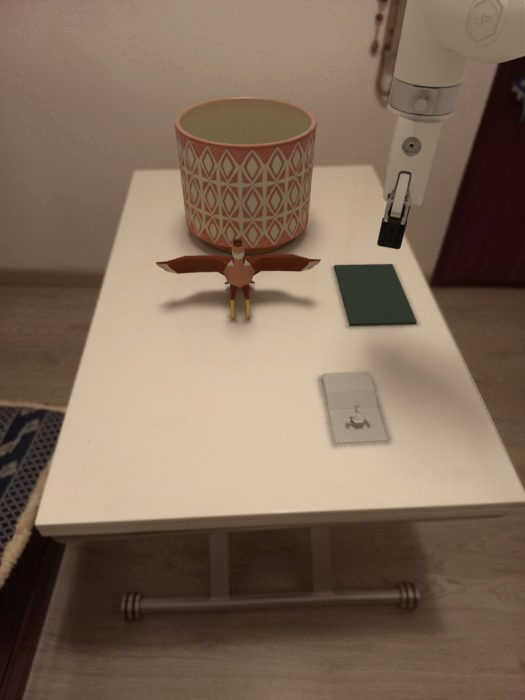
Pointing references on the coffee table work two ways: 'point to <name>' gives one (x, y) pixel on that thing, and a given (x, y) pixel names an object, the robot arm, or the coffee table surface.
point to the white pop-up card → (353, 407)
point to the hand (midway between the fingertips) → (390, 237)
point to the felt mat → (373, 295)
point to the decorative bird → (238, 267)
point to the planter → (246, 170)
